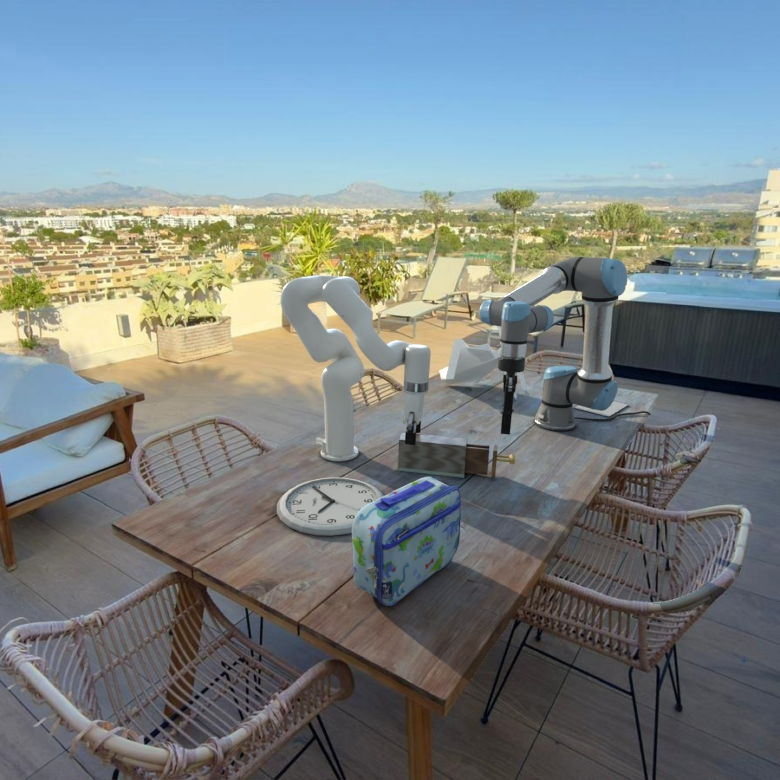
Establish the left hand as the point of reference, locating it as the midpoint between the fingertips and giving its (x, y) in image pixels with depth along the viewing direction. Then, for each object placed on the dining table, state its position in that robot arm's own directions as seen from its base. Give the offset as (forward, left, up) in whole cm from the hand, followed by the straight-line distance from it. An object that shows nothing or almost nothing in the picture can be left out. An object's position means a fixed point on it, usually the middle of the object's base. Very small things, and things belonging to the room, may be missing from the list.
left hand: (412, 438), depth 163 cm
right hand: (+28, +4, +4) cm, 28 cm away
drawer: (+19, +3, -9) cm, 21 cm away
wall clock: (-13, -31, -10) cm, 35 cm away
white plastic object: (+5, +88, -10) cm, 88 cm away
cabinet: (+6, +1, -10) cm, 12 cm away
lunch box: (+16, -52, -10) cm, 56 cm away
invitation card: (+58, +88, -10) cm, 106 cm away
